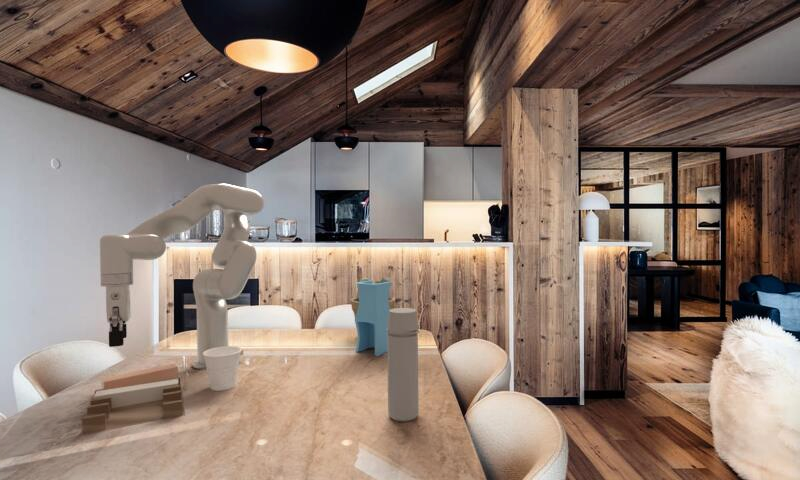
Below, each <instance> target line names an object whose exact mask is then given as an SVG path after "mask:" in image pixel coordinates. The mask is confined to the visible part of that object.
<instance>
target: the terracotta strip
mask: <svg viewBox="0 0 800 480" xmlns="http://www.w3.org/2000/svg"><path fill="white" fill-rule="evenodd" d="M173 378H179V366H178V365H176V363H171V364H167V365H162V366H156V367H152V368H151V367H149V368H146V369H141V370H136V371H132V372H131V371H130V372H126V373H122V374H117V375H111V376H106V377H101V381H100V382H101V389H107V388H114V389H115V388H121V387H128V386H134V385H141V384H147V383H154V382H160V381H163V380H166V379H173Z"/></svg>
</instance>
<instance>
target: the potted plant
mask: <svg viewBox="0 0 800 480" xmlns="http://www.w3.org/2000/svg"><path fill="white" fill-rule="evenodd" d="M369 280H371V279H370V278H369V277H362V278H361V279H359V282H364V281H369ZM385 282H392V279H391V277H389V276H384V277H382V279H380V280H378V279H377V280H375V282H374V284H379V283H385ZM357 295H358V297H357V296H356V297H353V298H350V303H351V310H352V312H353V315H354V317H355V316H356V313H357V310H358V306H359V293H358V294H357ZM388 301H389V307H390V310H391V309H395V308H396V307H395V306H396V298H395V297H391V296H389V298H388Z"/></svg>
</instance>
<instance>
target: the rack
mask: <svg viewBox="0 0 800 480" xmlns="http://www.w3.org/2000/svg"><path fill="white" fill-rule="evenodd" d="M173 379H178V386H172V387H166V388H163V399H162V400H157V401H151V402H145V403H139V404H133V405H127V406H121V407H116V408H112V405H111V396H109V397H103V398H97V399H94V398H92V399H90V404H89V405H87V409H86V411H87V416H83V417H82V419H81V421H82V423H81V425H82V428H81V431H80V433H79V436H82V435H83V436H84V435H88V434H93V433H99V432H104V431H109V430H114V429H120V428H125V427H129V426H134V425H140V424H145V423H150V422H155V421H160V420H161V421H162V420H166V419H171V418H176V417H182V416H186V413H185V412H186V411H185V401H184V400H185V399H184V393H183V388H182V385H181V377H179V376H178V378H173ZM173 379H166V380H163V381H167V380H173ZM108 389H114V388H107V389H102V388H101V389H95V391H94V395H95V394H96V391H102V390H108Z"/></svg>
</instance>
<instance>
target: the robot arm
mask: <svg viewBox="0 0 800 480" xmlns="http://www.w3.org/2000/svg"><path fill="white" fill-rule="evenodd" d="M264 205H265V200H264V196H263V195H261V193H259V191H257V190H254V189H251V188H246V187H242V186H237V185H232V184H228V183H213V184H211V183H210V184H204V185H201V186H199V187H198V188H197V189H195V190H194V191H193V192H191V193H189V195H187V196H186V197H185V198H183V199H182V200H180V201H179V202H178V203H176V204H175V205H173V206H172V207H170V208H169V209H167V210H165V211H163V212H161V213H159V214H157V215H155V216H153V217H151V218H149V219H148V220H146V221H143V222H142V223H141V224H139V225H137V226H136V227H135V228H134V229H132V230H131V231H130V232H128V233H126V234H108V235H107V234H106V235H102V236H101V237H100V239H99V256H100V257H99V261H100V263H99V265H100V268H99V269H100V270H99V271H100V274H99V275H100V276H99V277H100V287H104V288H105V309H106V310H105V311H106V312H105V313H106V322H107V323H108V324H109V331H108V346H109V348H114V347H121V346H124V341H125V340H124V339H126V338H127V333H128V332H127V322H129V321H130V319H131V315H132V313H131V312H132V311H131V292H130V291H131V290H130V286H132V285H134V260H141V261H152V260H154V261H155V260H156V259H159V258H161V257H162V256H163V255H164V254H165V252H166V251H167V250H166V249H167V244H166V242H165V240H164V239H167V238H169V237H172V236H175V235H178V234H183V233H185V232H188V231H189V230H192V229H193V228H195V227H196V226H197V225H198V224H200V222H202V221H203V220H205V219H206V218H207V217H208V216H210V215H211V213H213V212H214V211H222V213H223V215H224V218H225V227H224V229H223V231H222V233H221V236H220V237H219V239H218V240H217V243H216V245H215V247H214V249H213V250H212V253H211V262H212V264H213V265H214V266H216V267H218V268H206V269H203V270H200V271H199V272H198V273H197V274H196V275H195V276H194V279H193V281H192V290H193V294H194V295H193V296H194V299H195V305H196V307H195V308H196V334H197V335H196V336H197V337H196V341H197V342H196V344H197V359H195V360H194V361H192V367H193V368H195V369H199V370H207V368H206V364H205V359H204V355H203V352H205V351H207V350H209V349H213V348H218V347H227V346H229V316H228V315H229V314H228V313H229V310H228V309H229V308H228V305H227V300H234V299H236V298H238V296H240V294H241V293H242V291H243V290H244V288H245V286H246V284H247V282H248V281H249V278H250V276H251V274H252V271H253V269H254V267H255V265H256V262H257V261H256V260H257V250H256V248H255V247H254V245H253V244H252V243H251V242H249V241H248V240H249V237H250V234H251V225H250V222H249V220H248V217H247V216H254V215H258V214H259V213H260V212H261V211H263V209H264ZM221 268H222V269H221ZM243 355H244V349H243V348H241V352H240V356H243Z"/></svg>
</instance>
